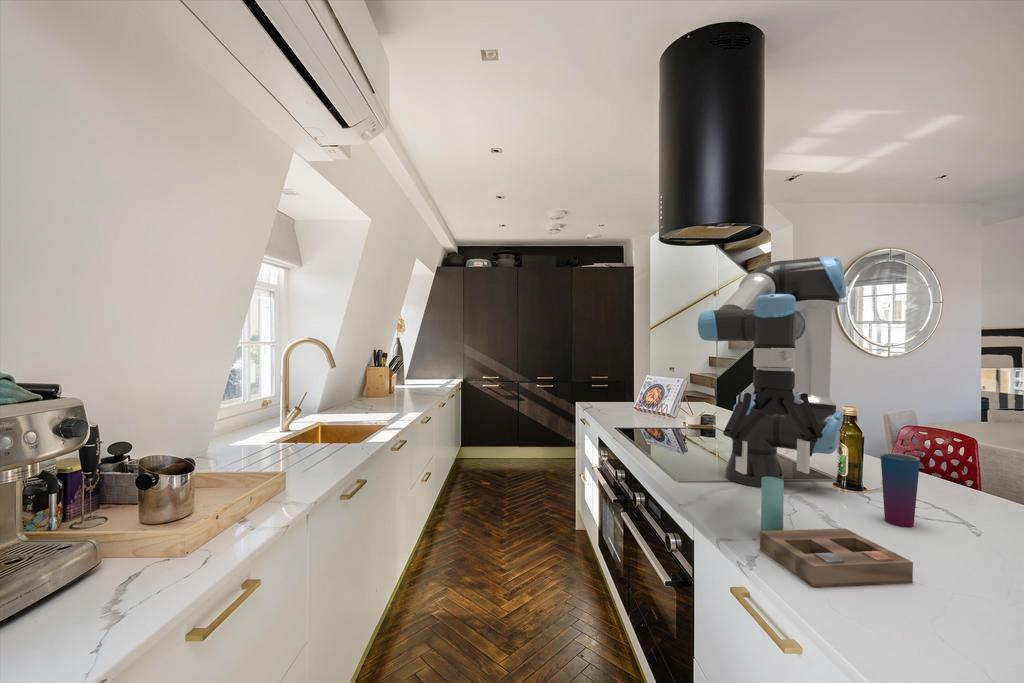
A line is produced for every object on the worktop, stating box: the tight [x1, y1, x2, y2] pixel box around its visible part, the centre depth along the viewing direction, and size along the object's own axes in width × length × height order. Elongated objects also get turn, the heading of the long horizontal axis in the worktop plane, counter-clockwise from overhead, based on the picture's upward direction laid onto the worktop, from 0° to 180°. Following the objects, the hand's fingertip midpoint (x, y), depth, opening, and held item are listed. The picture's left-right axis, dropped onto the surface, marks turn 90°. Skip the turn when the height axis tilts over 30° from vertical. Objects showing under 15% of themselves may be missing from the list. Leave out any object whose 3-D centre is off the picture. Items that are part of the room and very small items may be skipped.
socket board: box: [759, 527, 914, 588], centre depth 84 cm, size 14×18×4 cm
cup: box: [880, 452, 921, 528], centre depth 104 cm, size 7×7×15 cm
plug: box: [760, 477, 785, 531], centre depth 96 cm, size 4×4×12 cm
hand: (772, 472), depth 95 cm, fingers open, 13 cm apart
